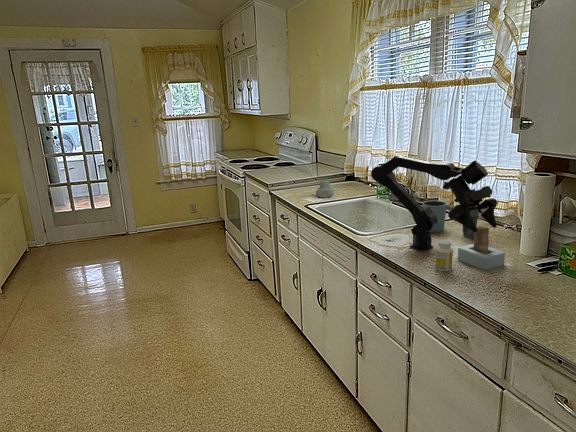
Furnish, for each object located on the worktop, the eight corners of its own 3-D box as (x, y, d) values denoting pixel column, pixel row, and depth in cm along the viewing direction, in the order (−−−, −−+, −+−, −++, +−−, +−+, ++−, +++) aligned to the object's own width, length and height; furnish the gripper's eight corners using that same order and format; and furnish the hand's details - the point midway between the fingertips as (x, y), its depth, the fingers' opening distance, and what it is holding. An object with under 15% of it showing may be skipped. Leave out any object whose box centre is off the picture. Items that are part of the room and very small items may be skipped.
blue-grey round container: (446, 227, 191) (448, 201, 188) (444, 233, 182) (445, 206, 179) (423, 225, 195) (424, 199, 192) (420, 231, 186) (420, 205, 183)
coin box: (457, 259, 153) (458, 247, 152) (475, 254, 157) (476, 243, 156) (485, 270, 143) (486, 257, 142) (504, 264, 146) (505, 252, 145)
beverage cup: (455, 234, 180) (458, 188, 175) (469, 232, 183) (472, 186, 177) (468, 239, 174) (471, 191, 168) (482, 236, 176) (485, 189, 171)
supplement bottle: (439, 272, 143) (440, 245, 141) (432, 266, 148) (433, 240, 146) (454, 270, 144) (456, 243, 141) (447, 265, 149) (448, 238, 146)
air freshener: (334, 195, 265) (333, 179, 262) (333, 198, 257) (333, 182, 254) (316, 195, 266) (316, 179, 264) (315, 198, 259) (315, 182, 256)
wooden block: (473, 259, 151) (474, 227, 148) (478, 258, 152) (479, 225, 149) (482, 262, 147) (483, 229, 145) (488, 261, 148) (488, 228, 145)
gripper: (456, 182, 142) (482, 221, 135) (495, 175, 150) (521, 212, 143) (437, 200, 151) (460, 238, 144) (475, 193, 158) (498, 229, 152)
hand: (486, 229), depth 145 cm, fingers open, 9 cm apart
